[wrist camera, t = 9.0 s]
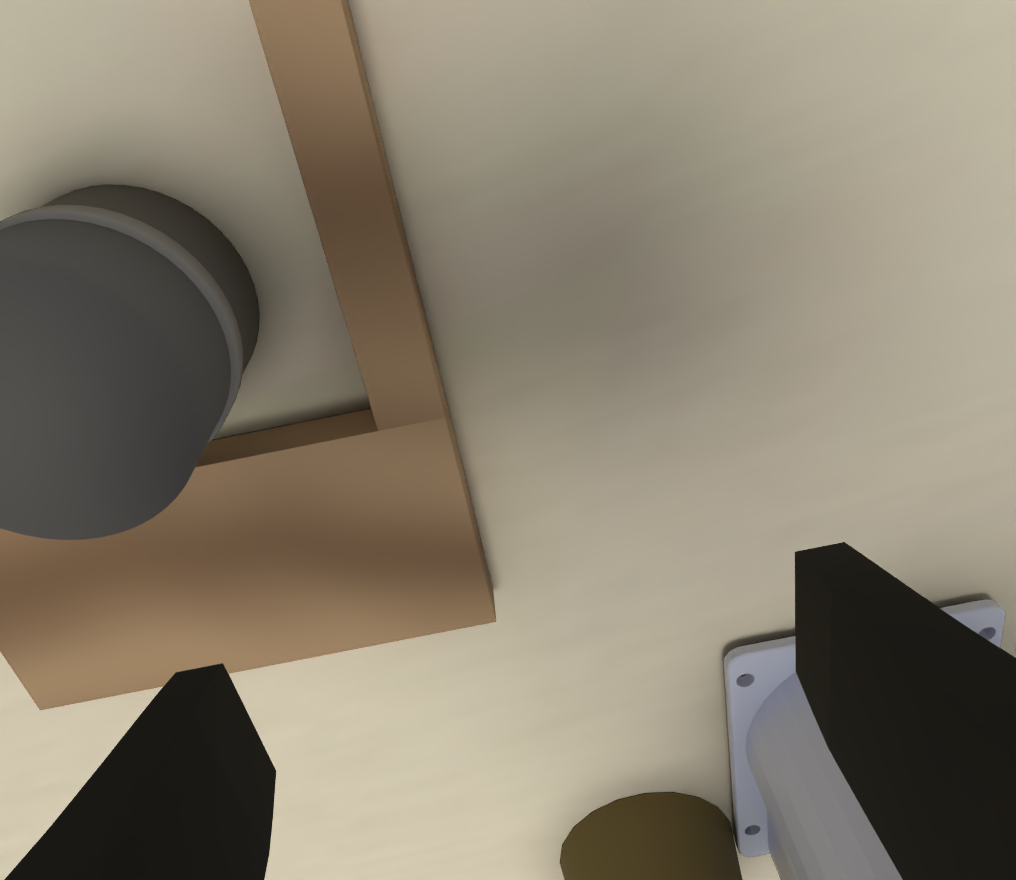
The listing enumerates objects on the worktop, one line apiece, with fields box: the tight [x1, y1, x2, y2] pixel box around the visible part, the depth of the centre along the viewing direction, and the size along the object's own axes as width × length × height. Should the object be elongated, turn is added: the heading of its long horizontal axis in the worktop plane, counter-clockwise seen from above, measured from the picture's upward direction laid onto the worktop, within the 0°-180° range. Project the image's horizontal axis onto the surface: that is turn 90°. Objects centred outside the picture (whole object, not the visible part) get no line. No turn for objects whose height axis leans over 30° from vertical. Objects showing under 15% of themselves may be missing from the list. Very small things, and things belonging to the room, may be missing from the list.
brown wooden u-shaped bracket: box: [0, 0, 496, 710], centre depth 18 cm, size 14×12×1 cm
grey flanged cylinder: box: [0, 185, 259, 540], centre depth 15 cm, size 5×5×5 cm
